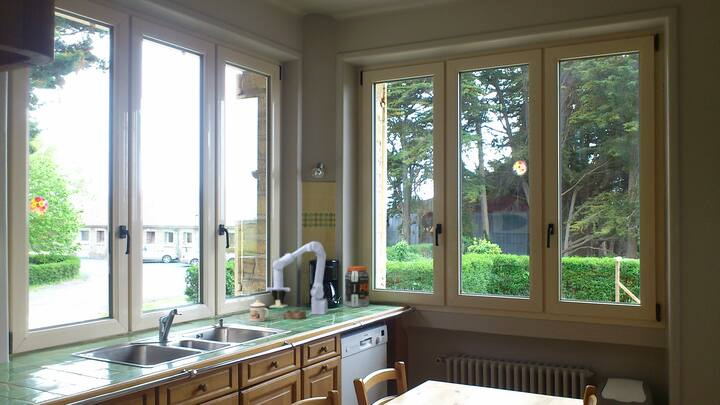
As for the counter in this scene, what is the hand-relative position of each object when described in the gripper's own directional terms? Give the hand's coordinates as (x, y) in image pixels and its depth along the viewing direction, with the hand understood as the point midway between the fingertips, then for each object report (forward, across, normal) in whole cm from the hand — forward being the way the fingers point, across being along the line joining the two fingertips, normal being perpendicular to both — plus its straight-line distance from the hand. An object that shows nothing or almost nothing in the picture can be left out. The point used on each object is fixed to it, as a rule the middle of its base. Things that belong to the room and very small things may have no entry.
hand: (278, 303), depth 393 cm
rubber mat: (+8, 0, 0) cm, 8 cm away
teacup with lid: (+8, -4, -19) cm, 21 cm away
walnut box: (+8, +12, -6) cm, 16 cm away
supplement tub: (+8, +35, +51) cm, 62 cm away
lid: (+2, 0, 0) cm, 2 cm away
